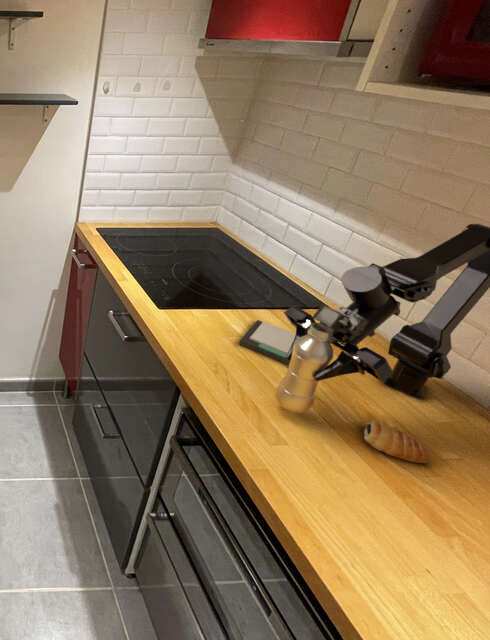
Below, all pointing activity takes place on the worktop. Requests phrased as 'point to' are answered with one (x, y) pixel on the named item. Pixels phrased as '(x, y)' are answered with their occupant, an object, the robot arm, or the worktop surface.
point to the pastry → (395, 442)
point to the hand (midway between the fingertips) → (300, 369)
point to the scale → (269, 341)
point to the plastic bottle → (305, 368)
